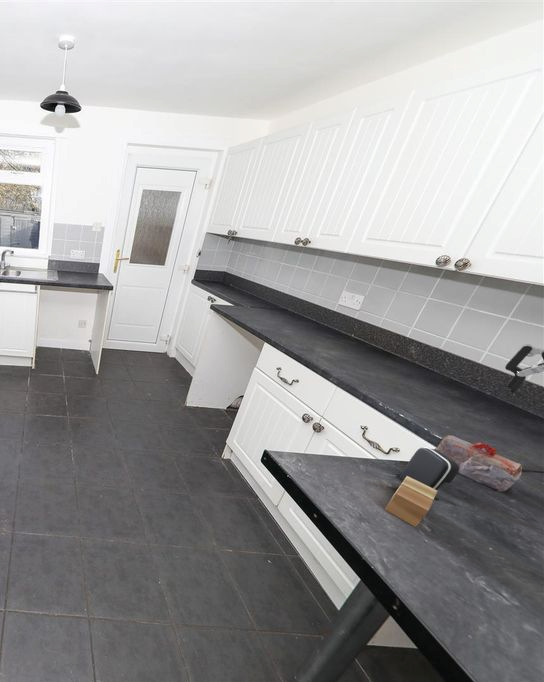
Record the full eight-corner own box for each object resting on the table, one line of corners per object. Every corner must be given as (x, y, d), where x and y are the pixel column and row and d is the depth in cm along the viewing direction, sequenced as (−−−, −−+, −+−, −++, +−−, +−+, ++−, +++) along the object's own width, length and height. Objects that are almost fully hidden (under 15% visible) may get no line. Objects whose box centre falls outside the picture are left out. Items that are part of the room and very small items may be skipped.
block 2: (390, 500, 78) (401, 485, 76) (420, 517, 74) (433, 501, 72) (384, 509, 75) (396, 493, 73) (415, 527, 71) (428, 510, 69)
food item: (505, 487, 86) (532, 458, 82) (501, 499, 82) (529, 468, 78) (430, 454, 96) (450, 426, 93) (423, 462, 92) (444, 434, 89)
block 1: (396, 491, 81) (407, 475, 79) (425, 506, 77) (437, 490, 75) (390, 499, 78) (402, 483, 76) (421, 515, 74) (433, 499, 72)
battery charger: (438, 504, 78) (467, 467, 74) (420, 501, 78) (449, 464, 74) (411, 481, 85) (436, 446, 80) (395, 478, 85) (419, 443, 80)
